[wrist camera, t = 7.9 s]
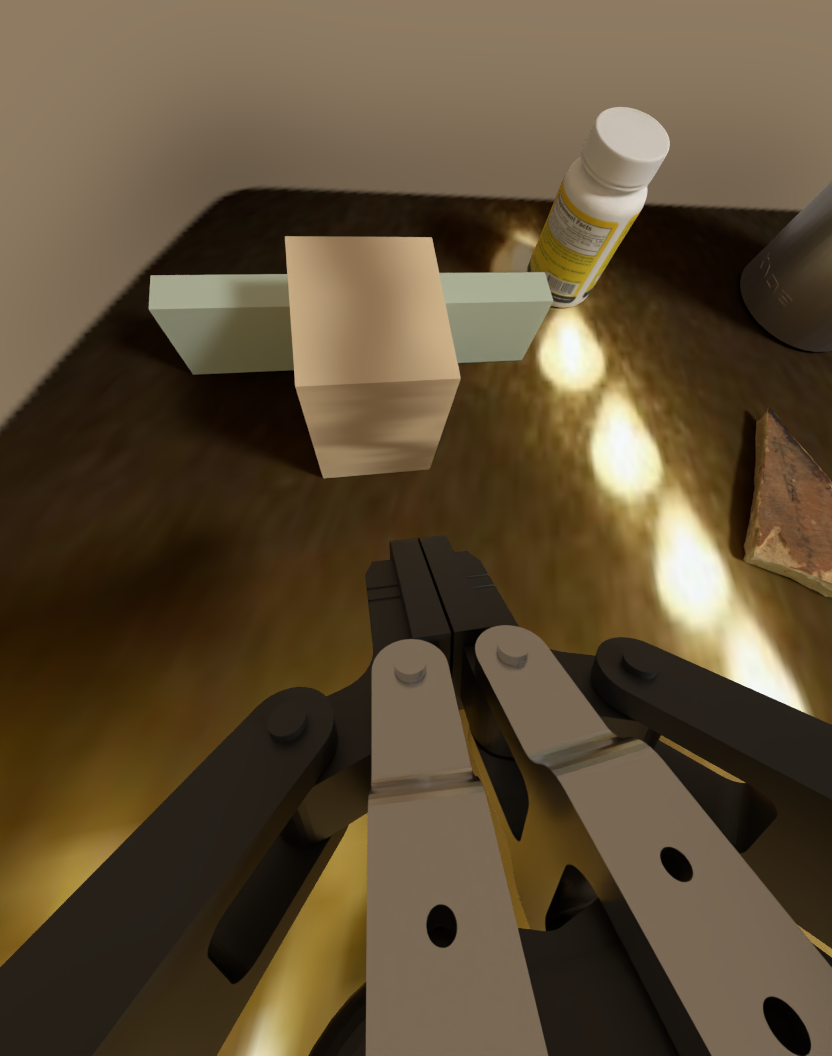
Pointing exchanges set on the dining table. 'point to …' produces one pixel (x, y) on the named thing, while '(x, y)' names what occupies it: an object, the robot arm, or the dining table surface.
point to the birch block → (370, 351)
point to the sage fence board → (265, 324)
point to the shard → (789, 510)
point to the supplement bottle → (598, 202)
